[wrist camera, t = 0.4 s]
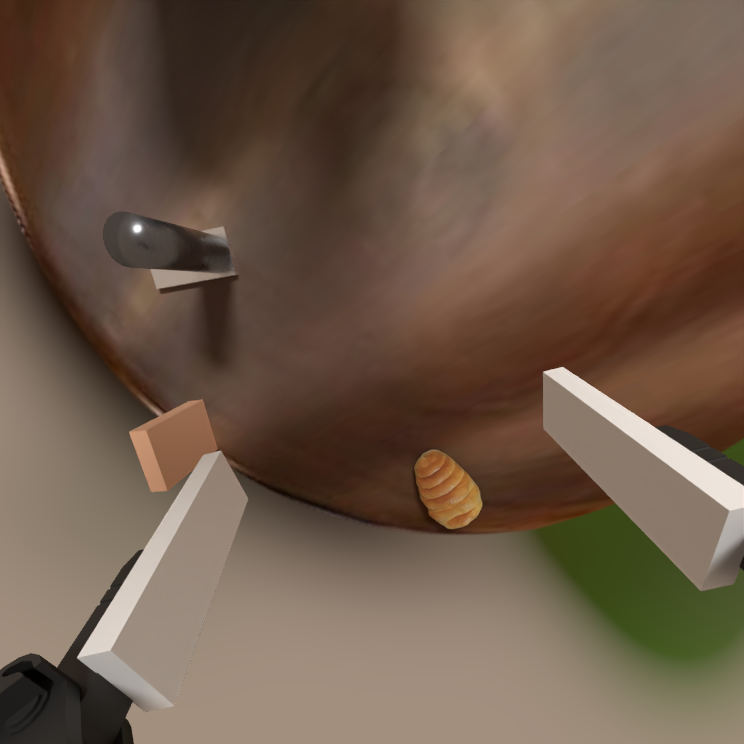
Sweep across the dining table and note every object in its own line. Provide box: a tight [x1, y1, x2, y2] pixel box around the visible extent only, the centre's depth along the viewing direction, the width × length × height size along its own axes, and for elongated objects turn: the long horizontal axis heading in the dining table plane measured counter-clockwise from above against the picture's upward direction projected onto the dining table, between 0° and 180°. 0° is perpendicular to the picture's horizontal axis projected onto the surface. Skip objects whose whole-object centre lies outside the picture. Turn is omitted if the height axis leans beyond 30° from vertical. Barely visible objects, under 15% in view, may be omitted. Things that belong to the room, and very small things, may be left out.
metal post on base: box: [103, 212, 238, 289], centre depth 30 cm, size 5×10×12 cm, turn 99°
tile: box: [129, 400, 218, 492], centre depth 37 cm, size 7×2×9 cm, turn 9°
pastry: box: [414, 450, 482, 529], centre depth 38 cm, size 9×7×4 cm
